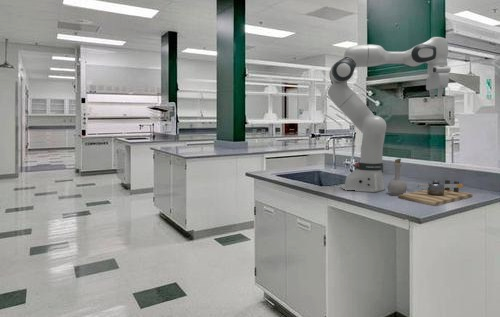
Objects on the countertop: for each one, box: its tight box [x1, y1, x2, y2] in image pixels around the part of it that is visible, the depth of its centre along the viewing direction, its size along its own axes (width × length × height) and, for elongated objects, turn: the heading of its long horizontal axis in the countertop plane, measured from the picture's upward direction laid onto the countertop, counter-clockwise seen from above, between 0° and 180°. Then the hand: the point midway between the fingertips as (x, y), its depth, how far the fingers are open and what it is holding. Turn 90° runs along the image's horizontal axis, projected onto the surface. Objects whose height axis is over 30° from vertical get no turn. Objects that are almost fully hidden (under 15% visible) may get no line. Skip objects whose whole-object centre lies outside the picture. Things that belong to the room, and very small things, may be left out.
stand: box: [397, 179, 473, 207], centre depth 168 cm, size 31×18×6 cm, turn 122°
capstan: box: [417, 179, 464, 195], centre depth 168 cm, size 20×7×6 cm, turn 87°
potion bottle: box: [387, 157, 408, 197], centre depth 175 cm, size 9×9×18 cm
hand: (435, 98), depth 181 cm, fingers open, 8 cm apart
